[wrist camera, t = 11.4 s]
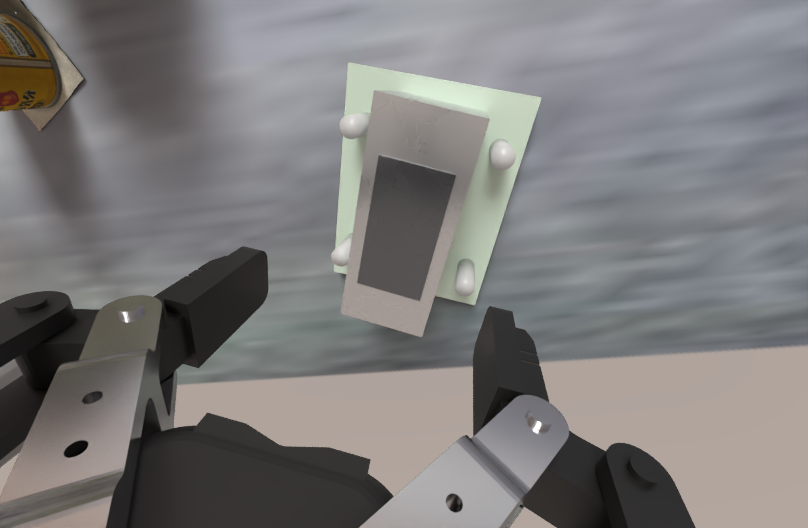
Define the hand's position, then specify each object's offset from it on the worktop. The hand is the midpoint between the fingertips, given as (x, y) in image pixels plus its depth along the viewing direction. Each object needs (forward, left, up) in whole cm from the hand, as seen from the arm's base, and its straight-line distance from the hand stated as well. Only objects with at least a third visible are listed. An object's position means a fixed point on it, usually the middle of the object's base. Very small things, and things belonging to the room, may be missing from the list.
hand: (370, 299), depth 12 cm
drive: (0, 0, -12) cm, 12 cm away
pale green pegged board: (0, 0, -13) cm, 13 cm away
